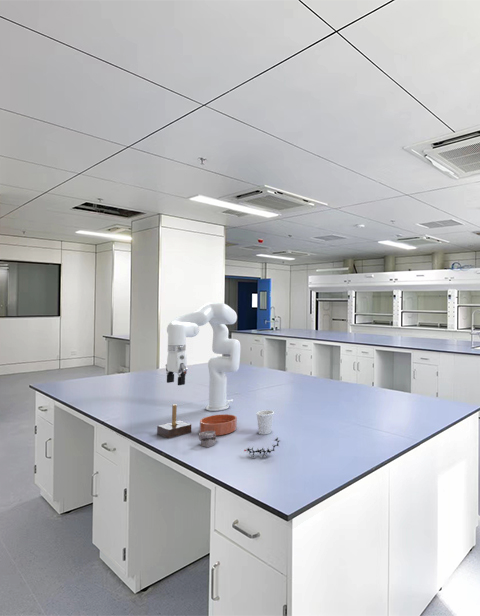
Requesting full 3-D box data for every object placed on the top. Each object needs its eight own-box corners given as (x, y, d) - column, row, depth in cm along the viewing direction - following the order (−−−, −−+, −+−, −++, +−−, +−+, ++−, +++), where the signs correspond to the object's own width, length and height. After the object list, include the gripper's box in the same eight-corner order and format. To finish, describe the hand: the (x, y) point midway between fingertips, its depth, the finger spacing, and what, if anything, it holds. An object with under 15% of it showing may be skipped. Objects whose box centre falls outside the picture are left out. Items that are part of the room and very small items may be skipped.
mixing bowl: (223, 423, 198) (223, 412, 198) (243, 429, 190) (243, 418, 190) (192, 432, 184) (192, 420, 184) (212, 439, 176) (212, 426, 176)
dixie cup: (256, 436, 181) (257, 415, 181) (254, 430, 189) (255, 411, 189) (274, 433, 185) (275, 413, 185) (272, 428, 193) (272, 409, 193)
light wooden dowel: (174, 432, 183) (175, 404, 183) (176, 433, 182) (177, 404, 182) (170, 433, 182) (171, 404, 182) (172, 434, 181) (173, 405, 181)
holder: (179, 428, 189) (179, 420, 189) (191, 432, 184) (191, 424, 184) (157, 434, 180) (157, 425, 180) (168, 438, 175) (168, 429, 175)
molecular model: (245, 453, 159) (246, 434, 159) (281, 453, 161) (282, 434, 161) (241, 460, 153) (241, 440, 153) (278, 459, 155) (279, 439, 155)
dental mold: (205, 440, 174) (205, 429, 174) (219, 441, 174) (219, 430, 174) (195, 446, 166) (195, 435, 166) (210, 447, 166) (210, 436, 166)
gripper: (194, 349, 181) (193, 384, 181) (175, 346, 190) (174, 380, 190) (178, 350, 175) (177, 387, 175) (159, 347, 183) (158, 382, 184)
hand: (175, 383), depth 182 cm, fingers open, 9 cm apart
